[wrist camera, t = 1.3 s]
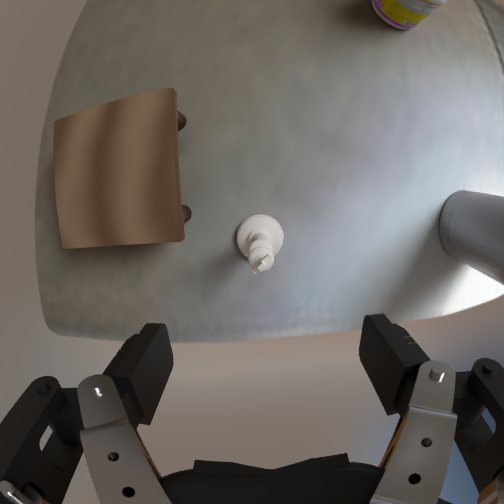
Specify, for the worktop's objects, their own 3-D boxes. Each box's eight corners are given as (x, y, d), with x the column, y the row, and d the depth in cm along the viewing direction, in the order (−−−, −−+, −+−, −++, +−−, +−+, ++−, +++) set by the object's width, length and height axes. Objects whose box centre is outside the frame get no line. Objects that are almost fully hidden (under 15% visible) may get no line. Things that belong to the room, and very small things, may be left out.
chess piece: (293, 238, 29) (310, 268, 19) (259, 269, 30) (259, 311, 20) (261, 204, 28) (263, 218, 18) (227, 236, 29) (212, 265, 19)
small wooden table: (191, 107, 25) (172, 87, 19) (198, 226, 29) (180, 241, 22) (89, 128, 26) (54, 121, 19) (96, 234, 29) (62, 249, 22)
